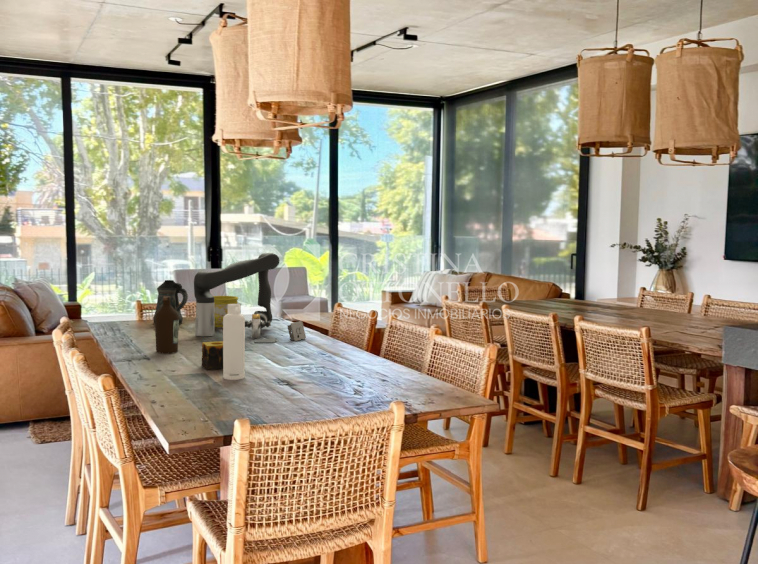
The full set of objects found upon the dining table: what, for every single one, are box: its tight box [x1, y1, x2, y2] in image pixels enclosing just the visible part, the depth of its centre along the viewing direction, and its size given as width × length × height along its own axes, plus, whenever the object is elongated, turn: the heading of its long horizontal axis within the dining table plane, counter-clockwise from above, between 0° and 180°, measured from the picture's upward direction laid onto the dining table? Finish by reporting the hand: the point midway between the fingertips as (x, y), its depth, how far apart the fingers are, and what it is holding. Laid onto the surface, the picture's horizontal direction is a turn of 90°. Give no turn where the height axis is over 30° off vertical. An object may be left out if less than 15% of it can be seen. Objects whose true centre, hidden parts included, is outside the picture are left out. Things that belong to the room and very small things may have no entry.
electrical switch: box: [286, 320, 307, 342], centre depth 360 cm, size 9×5×9 cm, turn 152°
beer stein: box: [152, 279, 189, 325], centre depth 409 cm, size 16×19×25 cm
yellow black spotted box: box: [201, 340, 223, 371], centre depth 288 cm, size 10×10×10 cm
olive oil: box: [153, 297, 180, 354], centre depth 320 cm, size 11×11×25 cm
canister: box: [251, 313, 261, 339], centre depth 363 cm, size 4×4×12 cm
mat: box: [253, 338, 277, 344], centre depth 353 cm, size 10×10×1 cm
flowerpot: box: [212, 295, 239, 328], centre depth 403 cm, size 18×18×16 cm
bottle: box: [222, 303, 246, 381], centre depth 269 cm, size 8×8×28 cm
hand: (255, 325), depth 361 cm, fingers open, 6 cm apart
